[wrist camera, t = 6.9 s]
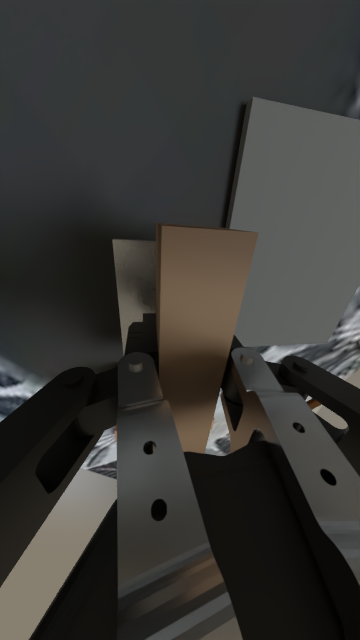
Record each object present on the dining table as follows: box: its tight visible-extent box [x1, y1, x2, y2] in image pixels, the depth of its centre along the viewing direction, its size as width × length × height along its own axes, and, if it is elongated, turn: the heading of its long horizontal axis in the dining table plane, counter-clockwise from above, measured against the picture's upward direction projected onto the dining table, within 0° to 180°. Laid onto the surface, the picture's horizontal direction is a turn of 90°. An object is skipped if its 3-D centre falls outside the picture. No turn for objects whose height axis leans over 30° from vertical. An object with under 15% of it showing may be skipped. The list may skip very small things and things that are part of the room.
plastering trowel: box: [112, 223, 259, 454], centre depth 11 cm, size 13×7×7 cm, turn 176°
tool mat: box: [226, 97, 360, 347], centre depth 20 cm, size 18×22×1 cm
